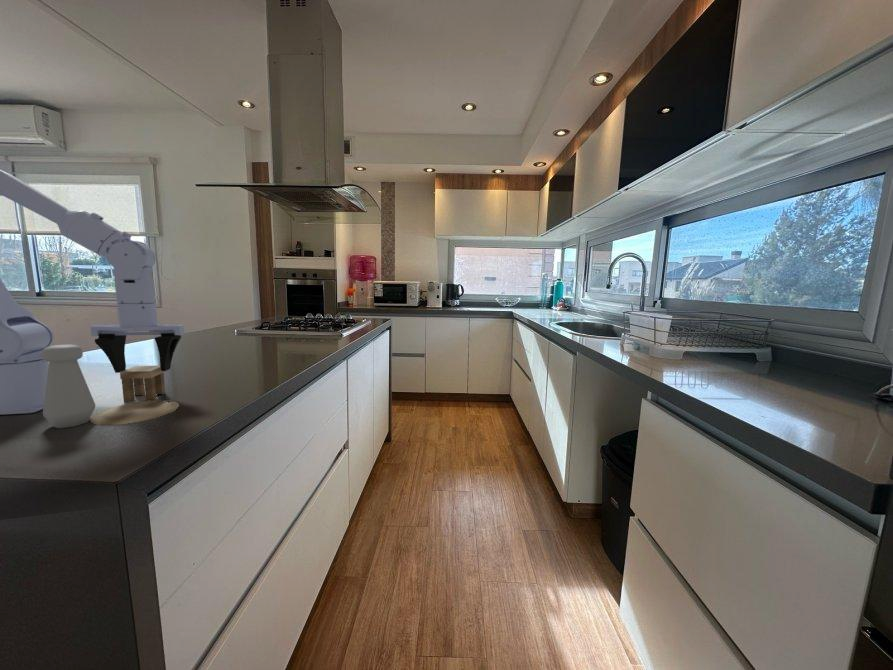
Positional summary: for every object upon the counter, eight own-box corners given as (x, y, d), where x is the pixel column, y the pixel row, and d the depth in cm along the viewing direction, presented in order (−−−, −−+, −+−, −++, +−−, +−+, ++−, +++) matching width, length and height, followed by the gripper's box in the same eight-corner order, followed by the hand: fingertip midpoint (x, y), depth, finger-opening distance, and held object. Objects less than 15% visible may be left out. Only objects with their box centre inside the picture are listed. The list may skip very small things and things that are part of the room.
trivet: (70, 429, 55) (70, 426, 55) (118, 404, 67) (118, 402, 67) (159, 423, 58) (159, 421, 58) (190, 400, 70) (190, 398, 70)
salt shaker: (106, 417, 59) (98, 343, 58) (67, 431, 54) (56, 349, 52) (76, 415, 60) (67, 341, 58) (33, 429, 54) (22, 347, 52)
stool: (122, 402, 67) (119, 372, 66) (137, 394, 72) (135, 366, 71) (153, 400, 68) (150, 371, 68) (166, 392, 73) (163, 365, 72)
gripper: (75, 303, 62) (84, 377, 64) (170, 304, 66) (176, 373, 68) (101, 302, 69) (109, 368, 70) (186, 302, 72) (191, 365, 74)
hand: (143, 370), depth 69 cm, fingers open, 7 cm apart
